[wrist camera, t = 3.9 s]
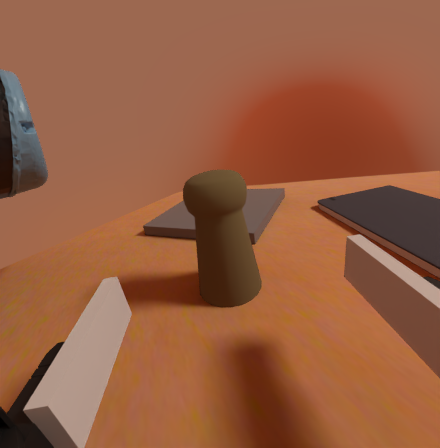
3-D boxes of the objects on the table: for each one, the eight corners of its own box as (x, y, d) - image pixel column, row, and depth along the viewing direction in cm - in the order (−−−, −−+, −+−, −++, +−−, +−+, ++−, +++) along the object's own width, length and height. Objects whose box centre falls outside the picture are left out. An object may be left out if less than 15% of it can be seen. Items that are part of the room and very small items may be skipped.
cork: (188, 285, 24) (161, 178, 20) (234, 260, 27) (220, 162, 23) (223, 318, 19) (198, 188, 15) (275, 283, 22) (266, 165, 18)
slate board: (145, 234, 38) (143, 225, 37) (201, 196, 52) (199, 190, 51) (255, 244, 30) (254, 233, 29) (284, 196, 44) (284, 188, 43)
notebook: (598, 262, 19) (388, 194, 39) (608, 245, 19) (389, 185, 38) (461, 298, 18) (315, 209, 38) (466, 281, 18) (315, 200, 37)
